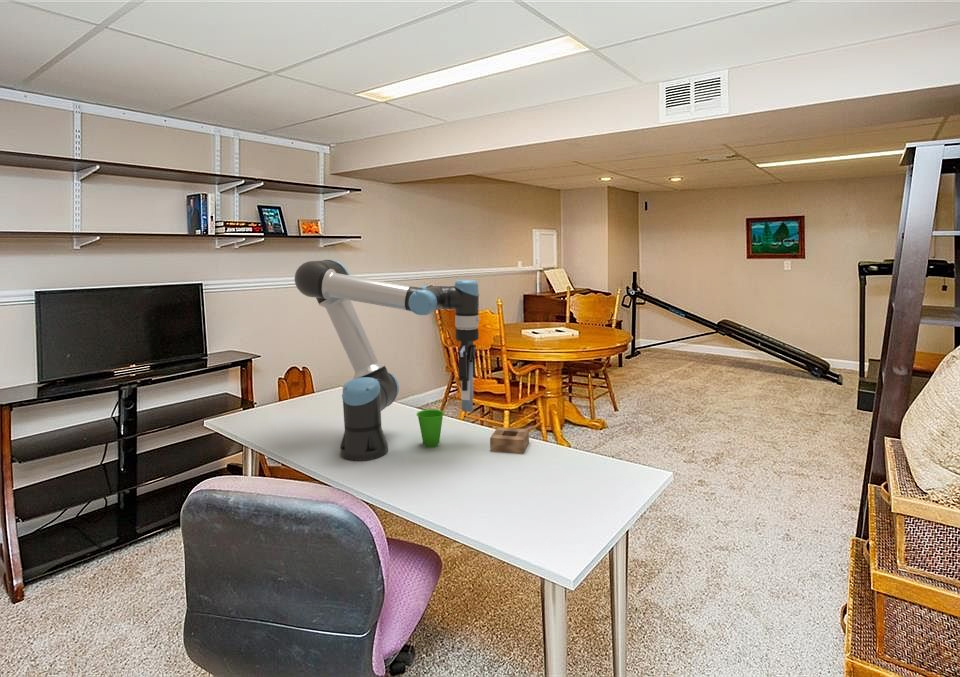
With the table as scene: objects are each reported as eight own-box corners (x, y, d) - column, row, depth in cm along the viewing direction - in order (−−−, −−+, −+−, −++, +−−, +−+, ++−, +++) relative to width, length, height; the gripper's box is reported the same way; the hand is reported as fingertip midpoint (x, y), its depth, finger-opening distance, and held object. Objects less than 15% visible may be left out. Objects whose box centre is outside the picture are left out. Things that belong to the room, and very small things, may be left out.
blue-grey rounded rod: (460, 411, 183) (460, 363, 180) (463, 407, 187) (463, 361, 184) (471, 411, 182) (471, 364, 180) (474, 408, 186) (474, 361, 183)
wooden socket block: (490, 451, 179) (490, 437, 178) (497, 439, 189) (497, 427, 188) (523, 453, 176) (523, 440, 176) (528, 442, 187) (528, 429, 186)
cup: (440, 450, 180) (439, 417, 178) (414, 448, 182) (412, 416, 180) (447, 441, 189) (447, 409, 187) (422, 439, 191) (421, 408, 189)
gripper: (471, 332, 171) (471, 405, 175) (484, 324, 187) (484, 392, 191) (448, 331, 173) (448, 404, 177) (463, 324, 189) (463, 390, 193)
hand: (467, 397), depth 184 cm, fingers closed on blue-grey rounded rod, 3 cm apart
